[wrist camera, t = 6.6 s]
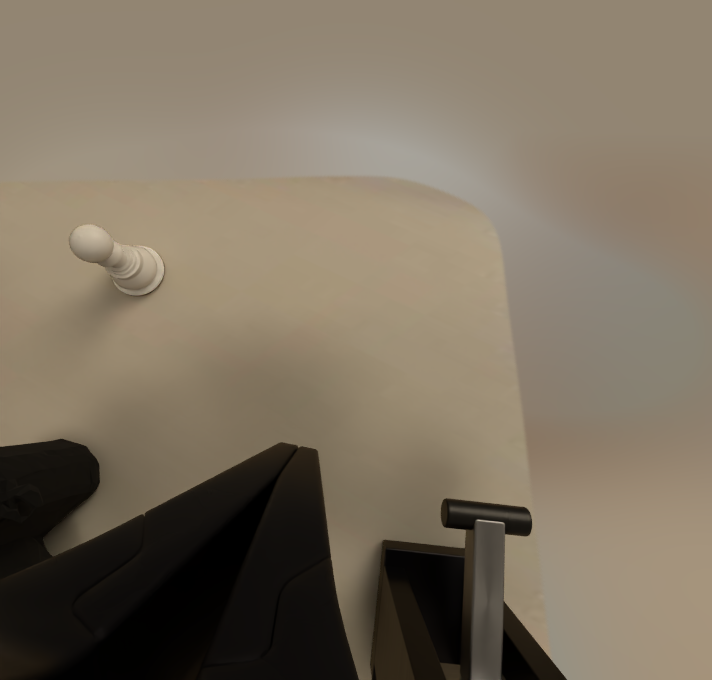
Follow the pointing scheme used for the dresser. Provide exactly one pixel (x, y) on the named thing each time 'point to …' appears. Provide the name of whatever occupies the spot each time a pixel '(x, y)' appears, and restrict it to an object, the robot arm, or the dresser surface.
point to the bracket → (437, 619)
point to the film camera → (39, 496)
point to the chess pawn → (118, 259)
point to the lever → (482, 583)
